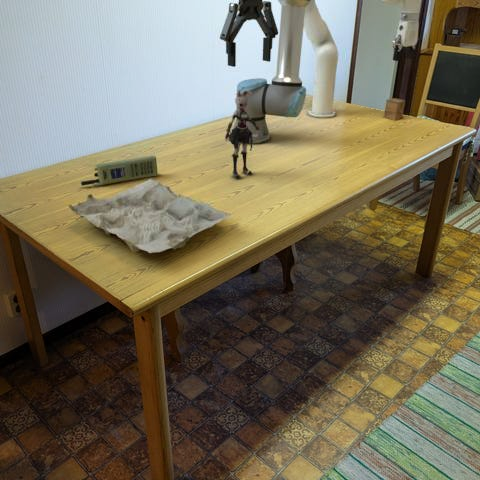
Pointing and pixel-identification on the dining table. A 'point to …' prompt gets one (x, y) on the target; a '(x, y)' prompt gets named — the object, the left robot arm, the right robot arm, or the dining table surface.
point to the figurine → (241, 131)
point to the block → (394, 108)
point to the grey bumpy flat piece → (149, 216)
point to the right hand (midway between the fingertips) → (402, 59)
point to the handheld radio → (124, 170)
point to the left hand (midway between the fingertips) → (249, 63)
